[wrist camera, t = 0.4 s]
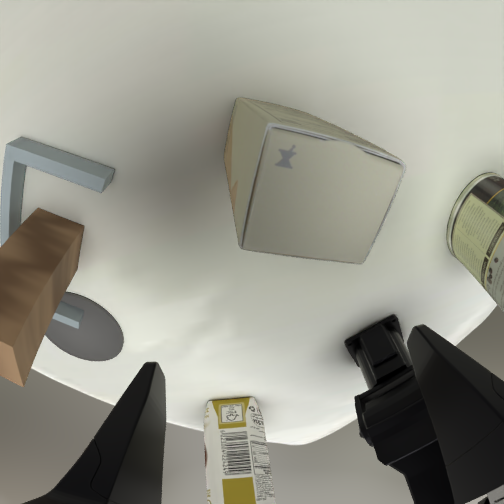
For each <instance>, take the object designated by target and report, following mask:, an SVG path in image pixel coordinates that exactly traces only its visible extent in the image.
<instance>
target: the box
mask: <svg viewBox="0 0 504 504" xmlns="http://www.w3.org/2000/svg"><path fill="white" fill-rule="evenodd" d="M224 161H225V167H226V173H227V178H228V184H229V191H230V197H231V202H232V208H233V214H234V220H235V226H236V231H237V237H238V243H239V246H240V248H241V249H244V250H248V251H255V252H262V253H269V254H275V255H283V256H291V257H298V258H306V259H315V260H323V261H333V262H342V263H352V264H362V263H364V261H365V259H366V257H367V256H368V254H369V252H370V250H371V248H372V246H373V244H374V242H375V240H376V237H377V236H378V234H379V232H380V229H381V227H382V225H383V223H384V221H385V219H386V216H387V214H388V212H389V209H390V207H391V205H392V202H393V200H394V198H395V196H396V193H397V191H398V188H399V186H400V183H401V181H402V178H403V176H404V173H405V171H406V165H405V163H404V162H403V161H402V160H401V159H399V158H397V157H396V156H394V155H392V154H390V153H389V152H387V151H385V150H383V149H381V148H380V147H378V146H376V145H374V144H372V143H370V142H368V141H366V140H364V139H362V138H360V137H358V136H356V135H354V134H352V133H350V132H348V131H346V130H344V129H342V128H340V127H338V126H335V125H333V124H331V123H329V122H327V121H324V120H322V119H320V118H318V117H315V116H313V115H310V114H308V113H305V112H302V111H299V110H295V109H292V108H288V107H284V106H280V105H276V104H271V103H267V102H262V101H257V100H252V99H246V98H237V99H236V102H235V106H234V109H233V113H232V117H231V121H230V126H229V130H228V135H227V140H226V146H225V152H224Z"/></svg>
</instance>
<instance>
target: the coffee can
mask: <svg viewBox="0 0 504 504" xmlns="http://www.w3.org/2000/svg"><path fill="white" fill-rule="evenodd" d="M447 243H448V247H449V249H450V251H451V253H452V255H453V256H455V257H456V258H457V259H458V260H459V261H460V262H461V263H462V264H463V265H464V266H465V267H466V268H467V269H468V270H469V272H470V273H471V274H472V275H473V276H474V277H475V278H476V279H477V281H478V282H479V283H480V284H481V285H482V286H483V288H484V289H485V290H486V291H487V292H488V293H489V295H490V296H491V297H492V298H493V300H494V301H495V302H496V303H497V305H498V306H499V307H500V308H501V309H502V311H503V312H504V179H503V178H502V177H501V176H499V175H497V174H495V173H486V174H483V175H480V176H478V177H477V178H475V179H474V180H473V181H472V182H471V183H470V184H469V185H468V186H467V187H466V188H465V189H464V190H463V192H462V193H461V195H460V196H459V198H458V200H457V201H456V203H455V205H454V208H453V210H452V213H451V216H450V219H449V223H448V228H447Z"/></svg>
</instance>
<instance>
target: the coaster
mask: <svg viewBox="0 0 504 504" xmlns="http://www.w3.org/2000/svg"><path fill="white" fill-rule="evenodd" d="M61 301H62V302H65V303H67V304H70V305H72V306H75V307H77V308H80V309H82V310H84V313H83V318H82V321H81V323H80V326H79V329H77V328H75V327H72V326H70V325H67V324H65V323H62V322H60V321H57V320H55V319H53V318H52V320H51V322H50V324H49V326H48V328H47V331H46V333H45V335H46V336H47V337H48V339H49V340H50V341H51V342H52V343H54V344H55V345H56V346H57V347H59V348H60V349H62V350H63V351H65V352H67V353H68V354H70V355H73V356H75V357H78V358H81V359H84V360H89V361H106V360H110V359H112V358H114V357H116V356H117V355H118V354H119V353H120V352H121V349H122V346H123V342H124V338H123V333H122V330H121V328H120V326H119V324H118V323H117V321H116V320H115V319H114V318H113V317H112V315H111V314H109V313H108V312H107V311H106V310H105V309H104V308H103V307H101V306H100V305H98V304H97V303H95V302H93V301H92V300H90V299H88V298H85V297H83V296H80V295H77V294H74V293H68V292H65V293H64V295H63V297H62V299H61Z"/></svg>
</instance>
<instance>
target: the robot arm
mask: <svg viewBox="0 0 504 504" xmlns="http://www.w3.org/2000/svg"><path fill="white" fill-rule="evenodd" d="M345 346H346V348H347V349H348V351H349V353H350V354H351V356H352V357H353V359H354V361H355V362H356V364H357V366H358V367H360V368H361V371H362V373H363V376H364V378H365V381H366V383H367V386H368V388H369V390H368V391H366V392H364V393H362V394H360V395H357V396H355V397H354V398H355V408H356V413H357V418H358V423H359V434H360V436H361V437H362V438H365V440H366V441H367V443H368V444H369V445H370V446H372V447H373V446H374V449H375V451H376V455H377V458H378V460H379V461H380V462H382V463H383V464H384V465H386V466H387V465H389V466H391V467H393V468H394V469H396V470H397V471H399V472H400V473H402V474H403V475H404V476H405V478H406V481H407V484H408V487H409V490H410V492H411V495H412V498H413V501H414V504H465V503H467V502H470V501H472V500H474V499H476V498H478V497H480V496H483V495H485V494H487V495H488V496H487V497H485V498H484V499H483V500H481V501H480V502H478V504H504V381H503V380H501V379H500V378H498V377H497V376H496V375H494V374H493V373H491V372H490V371H489V370H487V369H486V368H485V367H483V366H482V365H480V364H479V363H478V362H476V361H475V360H474V359H472V358H471V357H469V356H468V355H467V354H465V353H464V352H462V351H461V350H460V349H458V348H457V347H456V346H454V345H453V344H451V343H450V342H449V341H447V340H446V339H444V338H443V337H441V336H440V335H439V334H437V333H436V332H434V331H433V330H431V329H430V328H429V327H427V326H426V325H423V324H421V325H417V326H414V327H413V329H412V331H411V333H410V336H409V338H408V341H407V347H408V349H407V348H406V346H405V344H404V340H403V336H402V332H401V329H400V325H399V321H398V318H397V317H396V315H393V316H391V317H389V318H387V319H385V320H384V321H382V322H380V323H378V324H376V325H375V326H373V327H371V328H369V329H367V330H365V331H363V332H362V333H360V334H358V335H356V336H354V337H352V338H350V339H348V340H346V341H345ZM408 350H409V351H408ZM165 430H166V390H165V376H164V374H163V372H162V370H161V368H160V366H159V364H158V363H157V362H146V363H145V364H144V365H143V366H142V368H141V369H140V371H139V372H138V373H137V375H136V376H135V378H134V379H133V381H132V382H131V384H130V385H129V386H128V388H127V389H126V391H125V392H124V394H123V395H122V397H121V398H120V399H119V401H118V402H117V404H116V405H115V407H114V408H113V410H112V411H111V413H110V414H109V416H108V417H107V419H106V420H105V421H104V423H103V425H102V426H101V428H100V429H99V430H98V432H97V433H96V435H95V436H94V439H92V441H91V442H90V444H89V445H88V447H87V448H86V449H85V451H84V452H83V454H82V455H81V457H80V458H79V459H78V460H77V462H76V463H75V464H74V465H73V466H72V468H71V469H70V470H69V471H68V472H67V474H66V475H65V476H64V477H63V478H62V479H61V480H60V482H59V483H58V484H57V485H56V486H55V487H54V488H53V489H52V490H51V491H50V492H48V493H47V494H46V495H43V496H41V497H39V498H36V499H33V500H31V501H28V502H25V503H23V504H161V497H162V474H163V457H164V443H165Z"/></svg>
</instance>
